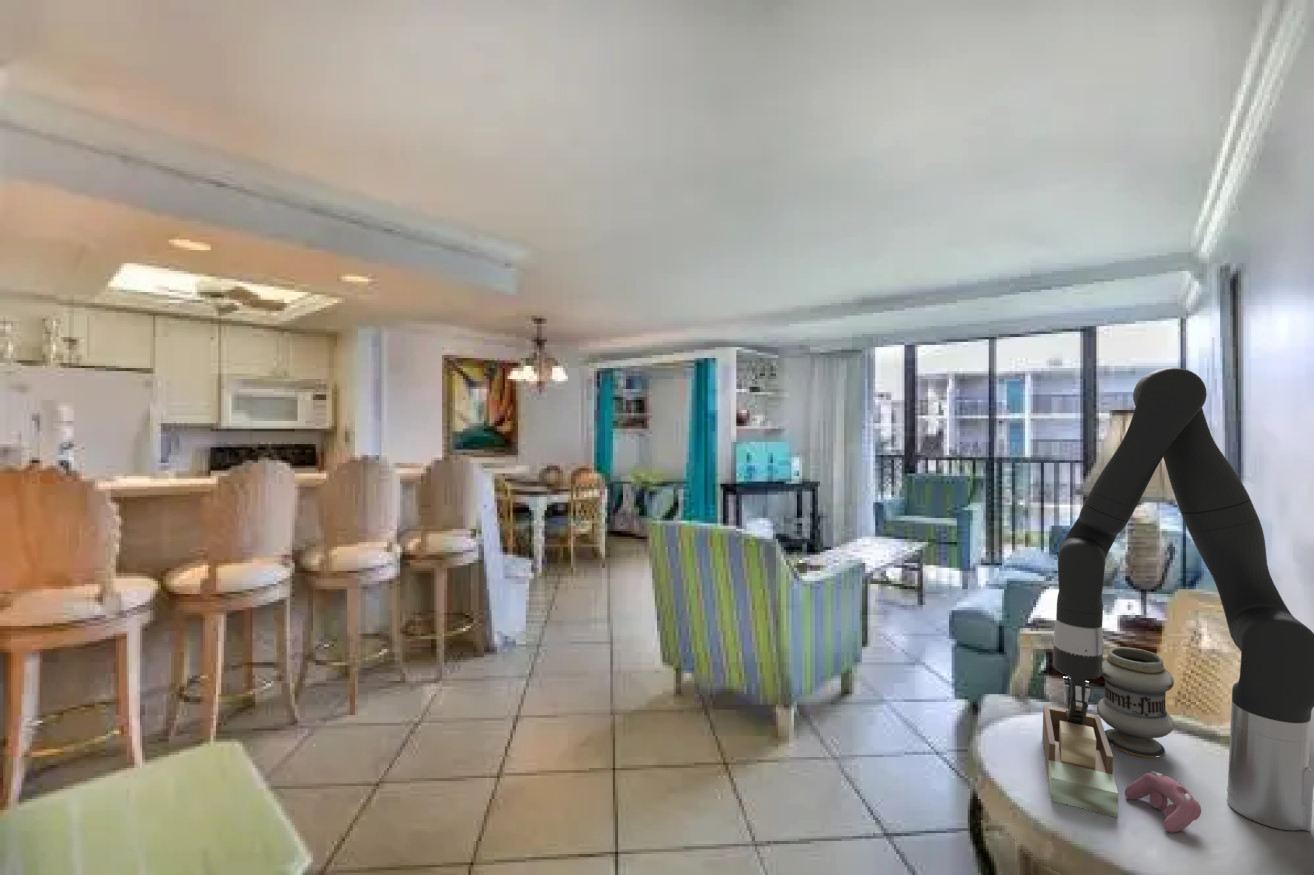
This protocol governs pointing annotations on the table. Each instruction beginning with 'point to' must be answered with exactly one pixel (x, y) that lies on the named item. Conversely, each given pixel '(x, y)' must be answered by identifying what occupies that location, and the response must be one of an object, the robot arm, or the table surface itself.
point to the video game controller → (1159, 791)
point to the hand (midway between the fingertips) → (1074, 738)
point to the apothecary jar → (1135, 701)
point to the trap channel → (1079, 768)
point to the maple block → (1077, 744)
